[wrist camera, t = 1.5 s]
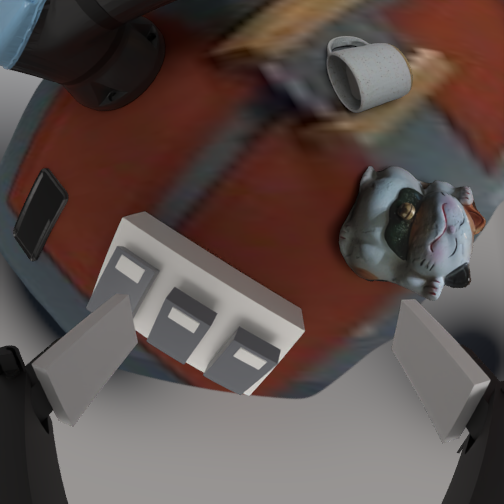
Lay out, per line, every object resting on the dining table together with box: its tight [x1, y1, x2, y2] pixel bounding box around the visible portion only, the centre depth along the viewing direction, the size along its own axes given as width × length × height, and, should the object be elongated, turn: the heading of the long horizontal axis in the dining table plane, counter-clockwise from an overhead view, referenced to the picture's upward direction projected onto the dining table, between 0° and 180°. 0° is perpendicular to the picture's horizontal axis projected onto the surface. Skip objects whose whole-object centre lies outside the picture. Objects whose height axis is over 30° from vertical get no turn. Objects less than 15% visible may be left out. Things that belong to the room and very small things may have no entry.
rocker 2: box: [147, 287, 218, 364], centre depth 29 cm, size 8×5×2 cm, turn 148°
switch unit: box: [93, 211, 305, 396], centre depth 34 cm, size 24×12×8 cm, turn 58°
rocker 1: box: [86, 246, 160, 318], centre depth 29 cm, size 8×5×2 cm, turn 148°
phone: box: [13, 168, 68, 261], centre depth 37 cm, size 8×1×15 cm
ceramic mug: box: [326, 36, 413, 113], centre depth 26 cm, size 11×8×8 cm
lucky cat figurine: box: [339, 166, 486, 301], centre depth 28 cm, size 15×12×14 cm
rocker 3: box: [203, 326, 281, 395], centre depth 30 cm, size 8×5×2 cm, turn 148°
